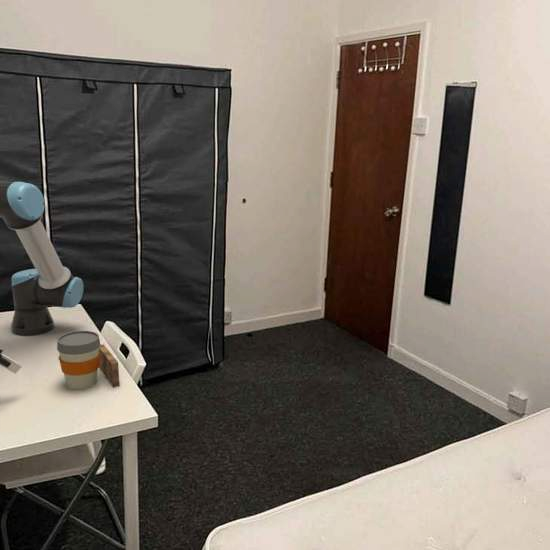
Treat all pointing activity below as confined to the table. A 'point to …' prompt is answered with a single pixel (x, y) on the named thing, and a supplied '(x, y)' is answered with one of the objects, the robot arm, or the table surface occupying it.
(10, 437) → the table surface
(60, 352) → the reusable coffee cup
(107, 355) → the board
